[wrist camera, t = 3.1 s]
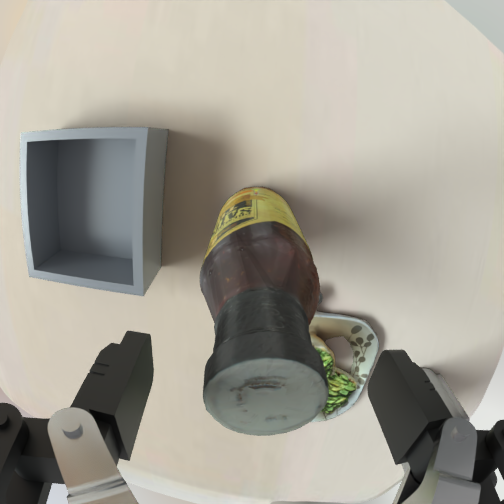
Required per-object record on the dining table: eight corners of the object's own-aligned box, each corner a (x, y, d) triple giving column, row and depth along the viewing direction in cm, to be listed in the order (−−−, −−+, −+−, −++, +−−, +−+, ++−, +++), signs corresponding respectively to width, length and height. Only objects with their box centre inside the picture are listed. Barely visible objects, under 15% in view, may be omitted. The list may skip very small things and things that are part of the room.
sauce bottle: (239, 171, 26) (221, 262, 7) (303, 204, 27) (413, 346, 8) (206, 238, 28) (144, 419, 9) (268, 267, 29) (300, 461, 10)
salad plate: (228, 271, 29) (226, 294, 25) (397, 291, 30) (416, 313, 26) (212, 407, 36) (209, 434, 32) (343, 413, 37) (351, 438, 33)
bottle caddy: (168, 129, 24) (148, 127, 19) (161, 267, 29) (143, 296, 23) (57, 130, 23) (20, 132, 18) (59, 253, 28) (29, 276, 22)
